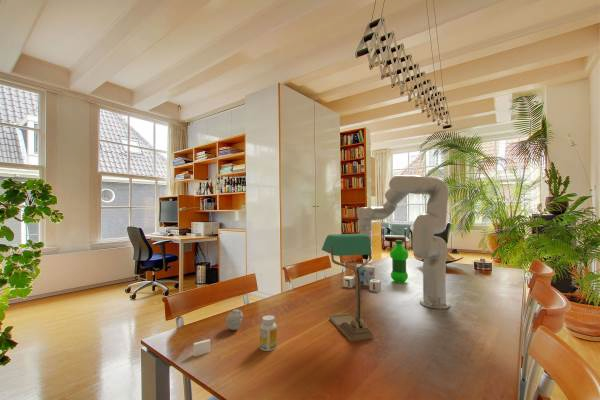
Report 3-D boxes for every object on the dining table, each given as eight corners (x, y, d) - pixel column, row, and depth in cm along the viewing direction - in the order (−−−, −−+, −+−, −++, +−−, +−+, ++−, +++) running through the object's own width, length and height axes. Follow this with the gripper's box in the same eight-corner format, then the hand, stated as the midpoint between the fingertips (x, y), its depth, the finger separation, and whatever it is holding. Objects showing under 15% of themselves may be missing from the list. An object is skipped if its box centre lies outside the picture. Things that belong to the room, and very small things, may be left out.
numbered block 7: (351, 287, 157) (351, 279, 157) (343, 286, 160) (343, 277, 160) (354, 285, 162) (354, 277, 162) (346, 284, 164) (346, 276, 164)
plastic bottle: (396, 278, 177) (395, 239, 177) (411, 282, 169) (411, 240, 169) (387, 281, 170) (386, 240, 171) (402, 285, 162) (402, 242, 163)
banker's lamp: (340, 343, 94) (340, 238, 94) (319, 318, 114) (319, 232, 115) (382, 337, 98) (381, 236, 99) (355, 314, 118) (354, 231, 119)
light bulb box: (355, 284, 164) (355, 266, 164) (356, 281, 170) (356, 263, 170) (374, 286, 161) (374, 267, 161) (374, 283, 167) (374, 265, 167)
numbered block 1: (378, 291, 150) (378, 282, 150) (369, 290, 152) (369, 281, 153) (380, 289, 155) (380, 280, 155) (371, 288, 157) (371, 278, 157)
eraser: (193, 355, 86) (193, 343, 86) (209, 350, 89) (209, 338, 89) (194, 356, 85) (194, 344, 85) (210, 352, 88) (210, 340, 88)
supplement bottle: (259, 352, 88) (259, 321, 88) (260, 343, 93) (260, 314, 93) (276, 351, 88) (276, 320, 89) (276, 343, 94) (276, 314, 94)
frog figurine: (246, 327, 106) (246, 308, 106) (233, 334, 100) (233, 315, 100) (234, 324, 109) (234, 306, 109) (221, 330, 103) (221, 311, 103)
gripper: (367, 229, 158) (368, 261, 157) (374, 227, 171) (374, 257, 170) (354, 228, 161) (355, 260, 161) (362, 227, 175) (362, 256, 174)
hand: (365, 258), depth 166 cm, fingers closed
